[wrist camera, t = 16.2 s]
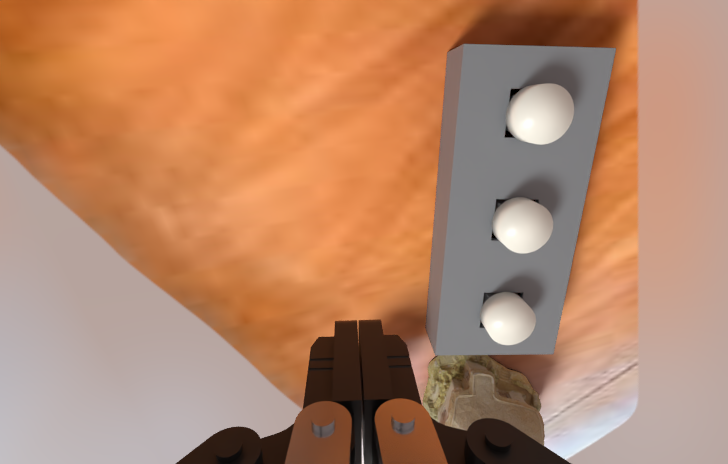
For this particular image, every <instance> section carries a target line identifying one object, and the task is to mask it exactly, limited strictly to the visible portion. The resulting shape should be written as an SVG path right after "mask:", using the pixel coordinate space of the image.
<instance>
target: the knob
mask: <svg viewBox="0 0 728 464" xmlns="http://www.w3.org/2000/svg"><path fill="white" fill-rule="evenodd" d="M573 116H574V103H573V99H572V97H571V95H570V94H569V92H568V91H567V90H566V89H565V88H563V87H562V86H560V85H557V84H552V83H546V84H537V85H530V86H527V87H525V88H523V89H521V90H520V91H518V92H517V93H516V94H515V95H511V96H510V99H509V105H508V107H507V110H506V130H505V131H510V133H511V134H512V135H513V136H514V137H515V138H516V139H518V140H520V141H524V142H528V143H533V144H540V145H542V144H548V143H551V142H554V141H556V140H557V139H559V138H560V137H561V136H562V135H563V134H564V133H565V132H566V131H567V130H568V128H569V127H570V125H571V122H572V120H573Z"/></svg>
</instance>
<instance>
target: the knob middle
mask: <svg viewBox="0 0 728 464" xmlns="http://www.w3.org/2000/svg"><path fill="white" fill-rule="evenodd" d="M552 230H553V219H552V216H551V214H550V212H549V211H548V210H547V209H546V208H545V207H544V206H542V205H540V204H538V203H536V202H534V201H532V200H530V199H528V198H524V197H516V198H512V199H496V206H495V213H494V216H493V219H492V231H493V233H494V235H495V237H496V238H497V239H498V240H499V241H500V242H501V243H502V244H504V245H505V246H506V247H507V248H508V249H509V250H511V251H513V252H516V253H522V254H524V253H530V252H534V251H536V250H538V249H539V248H541V247H542V246H543V245H544V244H545V243H546V242H547V241H548V239H549V238H550V236H551V234H552Z"/></svg>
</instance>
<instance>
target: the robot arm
mask: <svg viewBox="0 0 728 464" xmlns="http://www.w3.org/2000/svg"><path fill="white" fill-rule="evenodd" d="M362 438H363V456H364V464H571V463H569V462H567V461H566V460H565V459H563V458H561V457H560V456H558V455H557V454H555V453H554V452H552V451H551V450H549V449H548V448H546V447H545V446H543V445H542V444H540V443H539V442H537V441H535V440H534V439H532V438H531V437H529V436H528V435H526V434H525V433H523V432H522V431H520V430H519V429H517V428H516V427H514V426H512V425H511V424H509V423H507V422H505V421H502V420H499V419H494V418H483V419H479V420H476V421H474V422H473V423H472V424H471V425H470V426H469V428H468V429H467V431H466V430H462V429H458V428H454V427H450V426H446V425H444V424H441V423H439V422H437V421H436V420H434V419H433V418H431V417H430V415H429V413H428V411H427V410H426V409H425V408H424V407H423V406H422V404H421V400H420V396H419V393H418V389H417V385H416V381H415V377H414V373H413V369H412V366H411V361H410V358H409V353H408V349H407V345H406V344H405V343H404V341H403V340H402V339H401V338H400V337H399V336H398V335H383V330H382V324H381V320H359V346H358V329H357V320H354V321H335V335H334V337H319V338H318V339H317V340H316V341H315V343H314V344H313V345H312V347H311V351H310V360H309V366H308V374H307V382H306V389H305V397H304V405H303V410H302V411H301V412H300V413H299V414H298V416H297V417H296V420H295V423H294V424H293V425H291V426H290V427H289V428H287V429H286V430H284V431H282V432H280V433H277V434H274V435H271V436H268V437H264V438H262V439H260V437H259V435H258V434H257V433H256V432H255V431H253V430H251V429H249V428H246V427H231V428H227V429H224V430H222V431H219V432H218V433H216V434H214V435H213V436H211V437H210V438H209V439H207V440H206V441H205V442H203V443H202V444H201V445H200V446H198V447H197V448H195V449H194V450H193V451H192V452H190V453H189V454H188V455H186V456H185V457H184V458H183V459H181V460H180V461H179V462H177V463H176V464H362Z"/></svg>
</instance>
